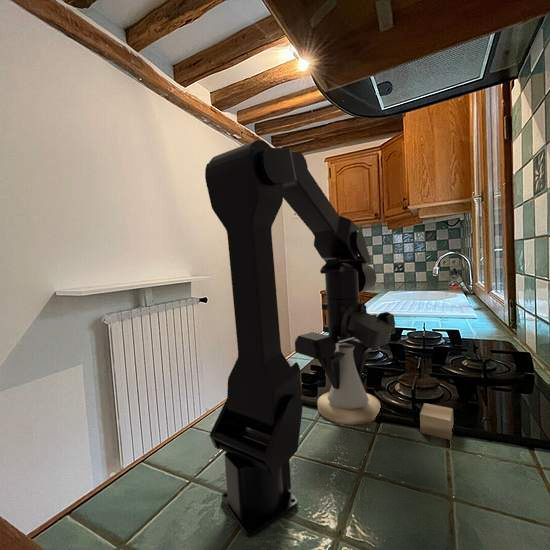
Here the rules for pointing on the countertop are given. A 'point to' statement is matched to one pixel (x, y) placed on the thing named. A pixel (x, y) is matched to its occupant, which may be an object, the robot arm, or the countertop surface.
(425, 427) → the cork block
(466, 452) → the countertop surface
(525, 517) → the countertop surface
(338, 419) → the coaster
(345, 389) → the flask
